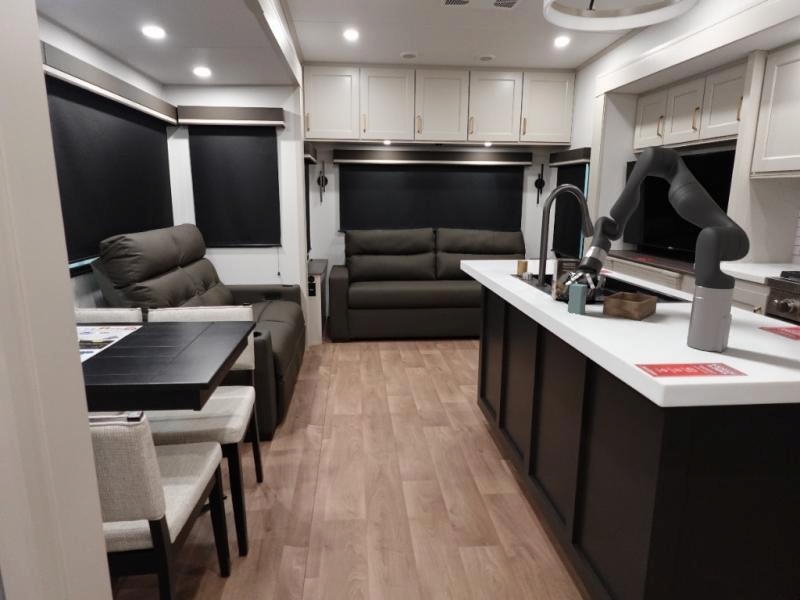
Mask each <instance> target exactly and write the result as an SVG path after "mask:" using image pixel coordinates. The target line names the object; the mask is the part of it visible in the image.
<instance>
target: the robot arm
mask: <svg viewBox="0 0 800 600" xmlns="http://www.w3.org/2000/svg"><path fill="white" fill-rule="evenodd" d="M647 176H650V177H651V176H652V177H658V178H662V179H664V180H665V181H667V182H668V184H670V187H669V191H668V201H669V202H670V204H671V205H672V208H674V209H673V210H675V211H676V213H677V214H678V215H679V216H680V217H681V218H682V219H684V220H686V221H687V222H689V223H690V224H691V223H692V224H693V225H695V226H697V227H698V228H701V229H702V230H701V231H700V232H699V235H697V240H696V244H695V255H694V256H695V257H694V259H695V260H694V266H693V267H694V269H693V270H694V271H693V272H694V279H695V280H694V288H693V293H692V295H693V296H692V302H691V303H692V304H691V309H690V316H689V317H690V318H689V324H688V325H689V326H688V332H687V337H686V339H687V340H686V344H687V346H689V347H690V348H694V349H696V350H701V351H707V352H708V351H709V352H718V353H722V352H724V351H725V350H726V349H727V348H728V344H729V338H730V330H731V324H732V319H733V315H732V314H731V311H732V304H733V298H734V291H735V286H736V277H734V276H733V275H730V274H728V273H725V272H724V271H722V269H721V262H736V261H740V260H742V259H744V258H745V257H747V255H748V254H749V252H750V246H751V243H750V238H749V236H748V234H747V233H746V231H745V229H743V228H742V227H741V226H740V225H739V224H738V223H737V222H736V221H735V220H733V218H731V217H730V216H729V215H728V214H727V213H726V212H724V210H723V209H722V208H721V207H720V205H718V203H716V202H715V200H714V199H713V198H712V197H711V195H710V194H709V193H708V191H707V190H706V188H704V187H703V185H702V184H701V183H700V182H699V181H698V180H697V179H696V178H695V175H693V173H692V172H691V171H690V170H689V168H688V167H687V165H686V164H685V162H684V160H683V158H682V157H681V155H680V154H679V152H678V151H677V150H675V149H673V148H670V147H669V148H668V147H664V146H663V147H662V146H657V145H655V146H654V145H651V146H650V145H649V146H647V147H645V149H643V151H642V152H641V153H640V155H639V156H638V159H637V161H636V162H635V165H634V167H633V169H632V171H631V173H630V175H629V177H628V180H627V182H626V184H625V186H624V188H623V190H622V192H621V194H620V196H619V197H618V199H617V200H616V201H615V202H614V204H613V205H612V207H611V208H610V210H609V216H610V217H611V218H610V217H608V216H604V215H602V216H600V217H598V218H597V219H596V221H595V223H594V226H593V234H592V240H591V242H590V245H589V246H588V249H587V250H586V251H585V253H584V255H583V258H582V259H581V260H580V261H581V263H580V265H579V267H578V270H577V272H575V273H572V272H571V271H570V270H569V271H568V272H567V273H566V275H565V277H564V278H563V280H562V284H563V286H564V287H565V288H564V290H563V292H562V293H563V295H564V297H567V295H568V293H569V289H570V285H572V284H583V285H587V287H588V286H590V288H589V289H588V291H587V295H586V301H588V302H589V301H590V300H592V299H593V297H594V295H595V294H596V293H597V292H599V293H602V291H603V289H604V286H605V284H606V281H607V279H606V275H605V274H601V275H600V273H601V271H602V269H603V267H604V265H605V263H606V260H607V257H608V254H609V252H610V250H611V248H612V242H616V241H619V240H620V239H621V238H622V236H623V234H624V231H625V229H626V225H627V222H628V220H629V219H630V217H632V215H633V213H634V212H635V211H636V209H637V208H638V206H639V203H640V201H641V184H642V182H643V181H644V179H645V178H647ZM574 276H575V277H574ZM572 277H573V278H572ZM570 279H571V280H570ZM575 280H576V282H575ZM597 281H598V282H597ZM595 282H597V286H595V285H594V283H595Z"/></svg>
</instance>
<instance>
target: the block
mask: <svg viewBox="0 0 800 600" xmlns="http://www.w3.org/2000/svg"><path fill="white" fill-rule="evenodd" d="M587 294H588V286H587V285H583V284H572V285H570V289H569V301H567V302H568V303H567V313H568V312H569V313H568V314H573V313H575V314H574V315H578V314H580V315H583V314H585V312H586V304H587V299H586V296H587ZM582 313H583V314H582Z"/></svg>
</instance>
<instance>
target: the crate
mask: <svg viewBox="0 0 800 600" xmlns="http://www.w3.org/2000/svg"><path fill="white" fill-rule="evenodd" d="M657 303H658V296H654V295H648V294H639V293H632V292H624V291H620V292H617V293H613V294H611V295H608V296H605V297H603V306H602V315H605V316H610V317H615V318H616V317H617V318H621V319H627V320H632V321H639V322H640V321H642V320H645V319H646V318H649V317H651V316H652V315H655V314H656V311H657ZM654 313H655V314H654Z"/></svg>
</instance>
